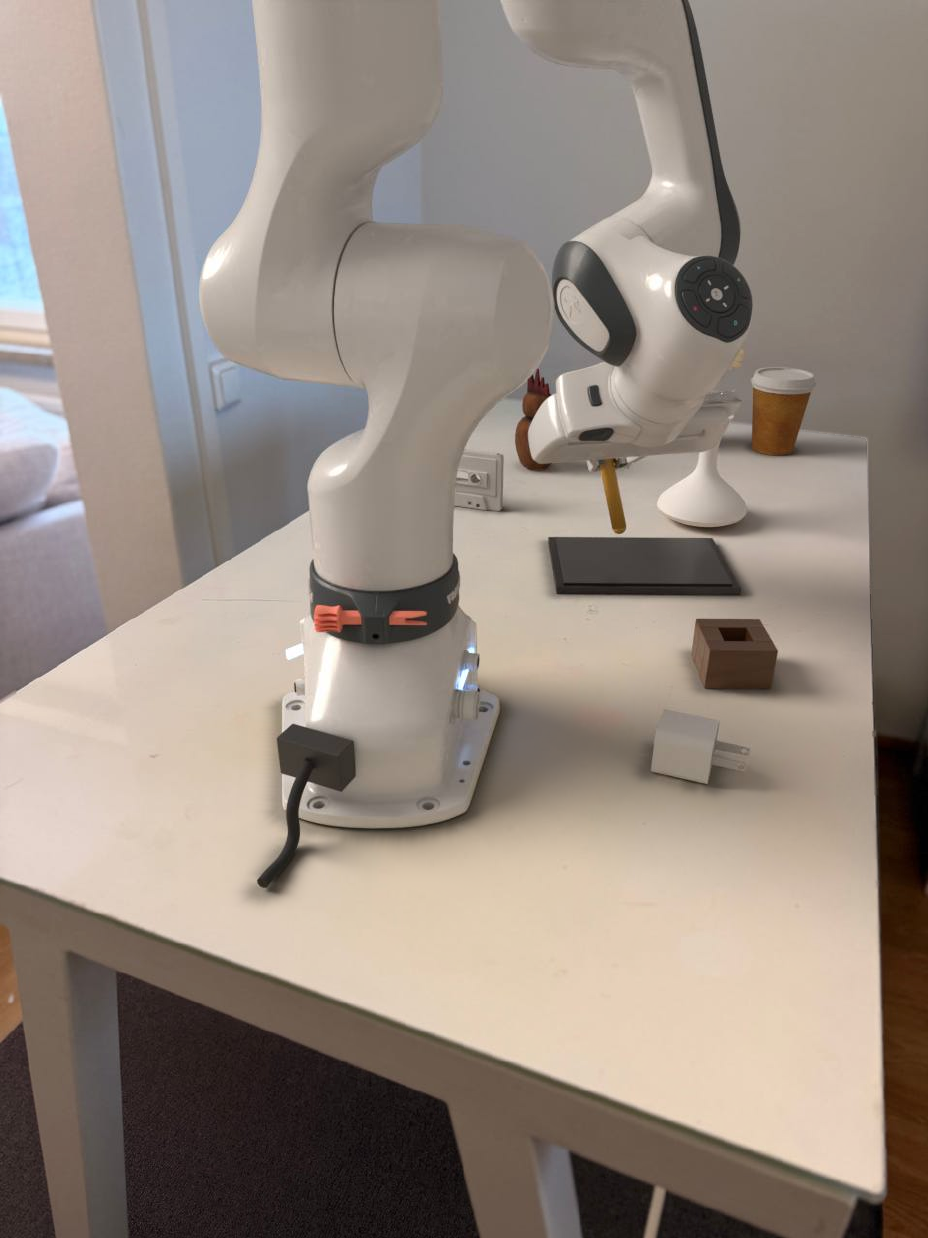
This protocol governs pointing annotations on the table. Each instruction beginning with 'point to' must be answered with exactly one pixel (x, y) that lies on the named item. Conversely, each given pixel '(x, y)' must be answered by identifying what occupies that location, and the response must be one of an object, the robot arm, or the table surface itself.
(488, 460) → the cassette
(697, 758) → the usb wall charger
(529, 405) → the wooden figurine
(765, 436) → the disposable coffee cup
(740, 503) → the flower in vase
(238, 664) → the table surface
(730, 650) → the pen holder
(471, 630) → the robot arm
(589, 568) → the tablet
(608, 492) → the stylus
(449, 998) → the table surface
